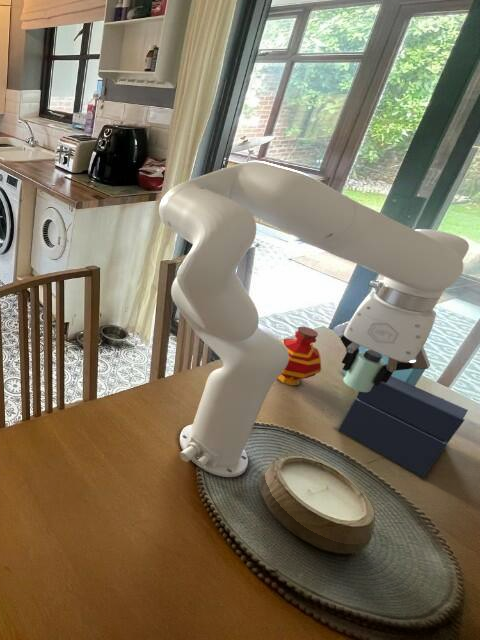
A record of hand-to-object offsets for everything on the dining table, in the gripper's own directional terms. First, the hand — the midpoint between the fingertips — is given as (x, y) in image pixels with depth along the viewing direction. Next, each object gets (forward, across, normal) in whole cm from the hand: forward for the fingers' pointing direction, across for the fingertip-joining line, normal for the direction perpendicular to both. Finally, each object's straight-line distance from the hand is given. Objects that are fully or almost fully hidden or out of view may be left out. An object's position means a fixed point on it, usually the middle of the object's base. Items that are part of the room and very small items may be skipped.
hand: (362, 374), depth 82 cm
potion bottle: (+18, -14, +15) cm, 27 cm away
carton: (+18, +7, +13) cm, 23 cm away
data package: (+18, -1, +30) cm, 35 cm away
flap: (+5, +7, +4) cm, 9 cm away
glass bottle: (+3, 0, 0) cm, 3 cm away
